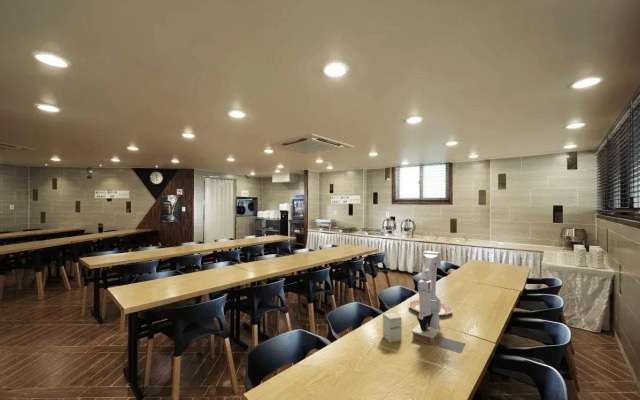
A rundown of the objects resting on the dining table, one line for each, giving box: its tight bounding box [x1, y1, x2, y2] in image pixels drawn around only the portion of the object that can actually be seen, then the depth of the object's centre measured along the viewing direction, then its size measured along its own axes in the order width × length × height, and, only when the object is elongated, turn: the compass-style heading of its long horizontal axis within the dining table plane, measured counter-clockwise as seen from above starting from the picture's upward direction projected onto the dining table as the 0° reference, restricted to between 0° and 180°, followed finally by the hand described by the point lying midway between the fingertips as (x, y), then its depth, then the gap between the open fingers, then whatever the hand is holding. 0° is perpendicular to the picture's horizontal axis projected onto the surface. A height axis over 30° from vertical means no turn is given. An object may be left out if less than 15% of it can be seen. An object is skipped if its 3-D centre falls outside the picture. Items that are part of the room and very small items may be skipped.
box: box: [412, 332, 439, 346], centre depth 146 cm, size 10×10×4 cm
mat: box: [434, 336, 466, 354], centre depth 139 cm, size 12×12×1 cm
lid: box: [411, 323, 440, 338], centre depth 146 cm, size 11×11×4 cm
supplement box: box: [382, 312, 403, 343], centre depth 146 cm, size 7×7×13 cm
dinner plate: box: [408, 299, 453, 317], centre depth 187 cm, size 28×27×3 cm
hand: (425, 328), depth 146 cm, fingers open, 6 cm apart
